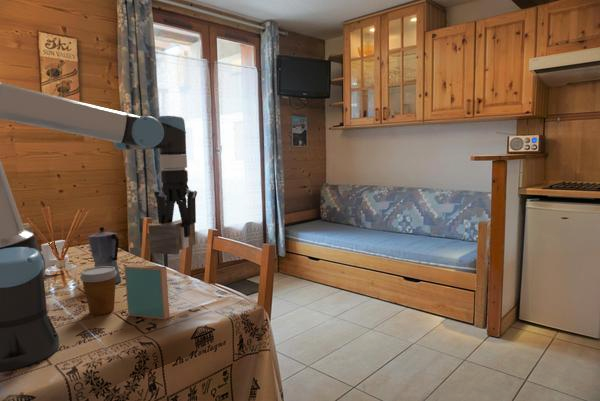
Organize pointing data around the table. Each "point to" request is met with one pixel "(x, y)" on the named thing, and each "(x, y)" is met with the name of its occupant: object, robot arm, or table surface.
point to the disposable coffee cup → (99, 288)
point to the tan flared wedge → (168, 237)
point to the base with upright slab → (49, 255)
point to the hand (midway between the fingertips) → (178, 247)
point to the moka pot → (105, 250)
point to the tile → (147, 291)
